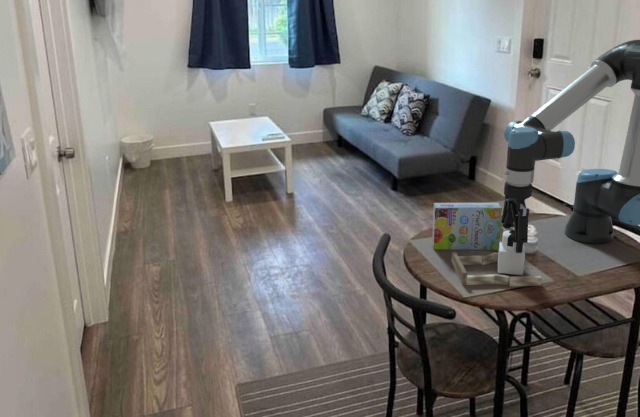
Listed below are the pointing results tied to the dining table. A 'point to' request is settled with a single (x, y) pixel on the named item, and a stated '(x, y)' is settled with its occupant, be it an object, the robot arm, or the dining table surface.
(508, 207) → the robot arm
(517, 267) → the medicine bottle
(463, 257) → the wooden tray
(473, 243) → the snack box
